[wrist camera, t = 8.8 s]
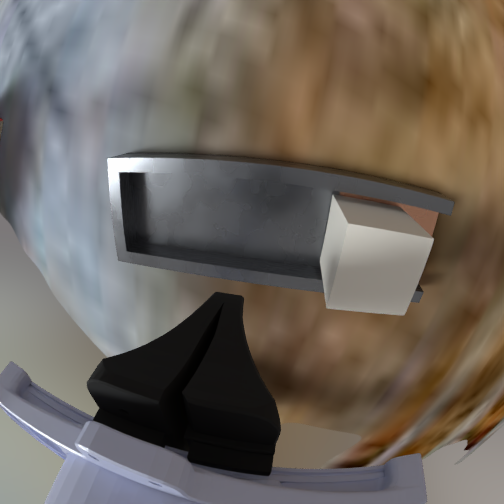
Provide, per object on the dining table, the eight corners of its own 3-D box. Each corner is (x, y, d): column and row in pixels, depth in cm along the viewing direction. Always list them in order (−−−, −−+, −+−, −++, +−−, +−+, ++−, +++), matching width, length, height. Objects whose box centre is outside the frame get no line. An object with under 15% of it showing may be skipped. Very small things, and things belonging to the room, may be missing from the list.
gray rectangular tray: (409, 285, 20) (418, 302, 18) (132, 247, 22) (118, 260, 20) (439, 192, 16) (454, 202, 14) (125, 153, 18) (107, 158, 16)
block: (382, 269, 19) (404, 315, 14) (319, 261, 19) (326, 308, 14) (400, 206, 17) (434, 239, 12) (332, 194, 17) (348, 223, 12)
